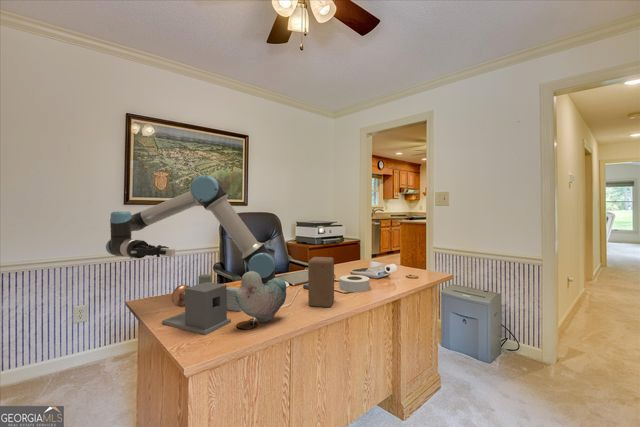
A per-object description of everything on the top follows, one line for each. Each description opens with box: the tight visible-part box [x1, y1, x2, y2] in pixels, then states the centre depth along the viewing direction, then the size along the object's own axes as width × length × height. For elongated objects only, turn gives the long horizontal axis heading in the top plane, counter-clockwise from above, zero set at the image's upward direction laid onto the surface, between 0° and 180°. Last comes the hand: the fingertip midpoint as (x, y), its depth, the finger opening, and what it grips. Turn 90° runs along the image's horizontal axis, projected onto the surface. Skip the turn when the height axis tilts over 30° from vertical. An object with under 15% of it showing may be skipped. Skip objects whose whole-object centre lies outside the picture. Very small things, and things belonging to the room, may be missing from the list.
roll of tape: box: [338, 274, 371, 293], centre depth 156 cm, size 16×16×6 cm
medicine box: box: [226, 286, 243, 312], centre depth 124 cm, size 8×4×9 cm, turn 71°
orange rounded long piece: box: [171, 284, 191, 308], centre depth 110 cm, size 14×8×8 cm, turn 64°
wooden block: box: [307, 256, 335, 308], centre depth 131 cm, size 10×10×20 cm
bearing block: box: [161, 282, 232, 336], centre depth 110 cm, size 22×12×14 cm, turn 64°
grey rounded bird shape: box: [235, 270, 287, 323], centre depth 110 cm, size 21×9×20 cm, turn 130°
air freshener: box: [198, 273, 213, 284], centre depth 143 cm, size 11×8×10 cm
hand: (173, 252), depth 114 cm, fingers closed
